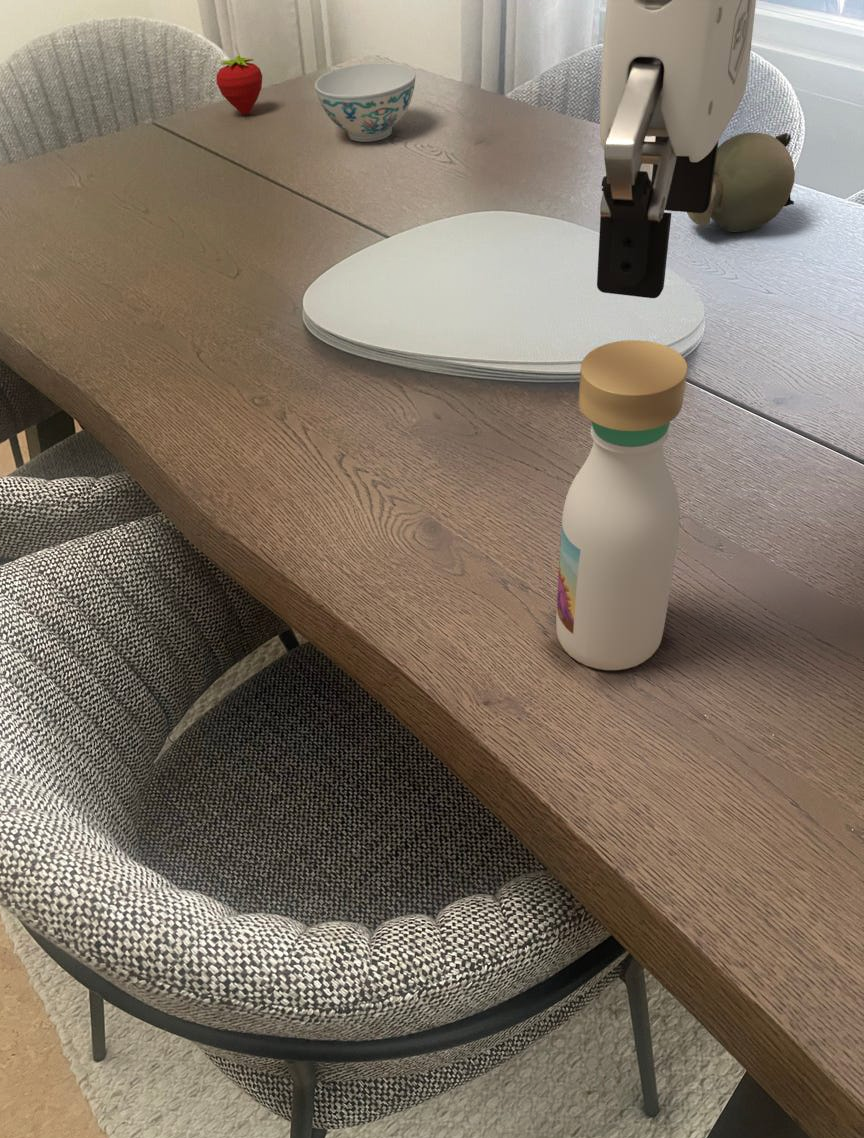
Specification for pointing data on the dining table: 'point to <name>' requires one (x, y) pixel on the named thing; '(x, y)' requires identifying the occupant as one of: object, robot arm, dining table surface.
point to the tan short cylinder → (632, 385)
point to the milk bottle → (617, 550)
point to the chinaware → (367, 98)
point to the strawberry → (240, 83)
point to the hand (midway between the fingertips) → (655, 248)
